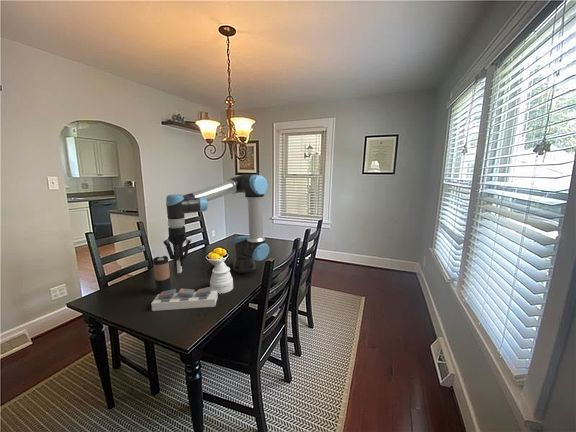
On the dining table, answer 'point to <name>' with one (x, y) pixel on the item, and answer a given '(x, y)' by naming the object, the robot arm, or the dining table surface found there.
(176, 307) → the power strip
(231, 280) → the honey pot
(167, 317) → the dining table surface
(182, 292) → the rocker mid
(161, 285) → the travel mug
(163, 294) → the rocker
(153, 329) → the dining table surface
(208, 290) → the rocker
